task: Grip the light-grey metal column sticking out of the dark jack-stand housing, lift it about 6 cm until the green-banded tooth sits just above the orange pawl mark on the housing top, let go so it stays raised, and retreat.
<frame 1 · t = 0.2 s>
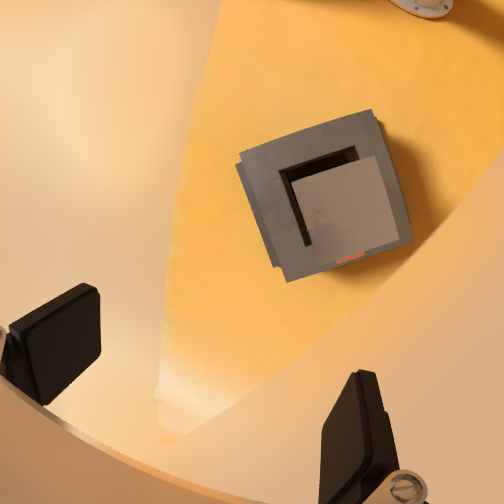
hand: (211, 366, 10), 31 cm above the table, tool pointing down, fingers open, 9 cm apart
housing: (325, 191, 38), on the table
column: (333, 201, 27), point 11 cm above the table, slide at 0.0 cm
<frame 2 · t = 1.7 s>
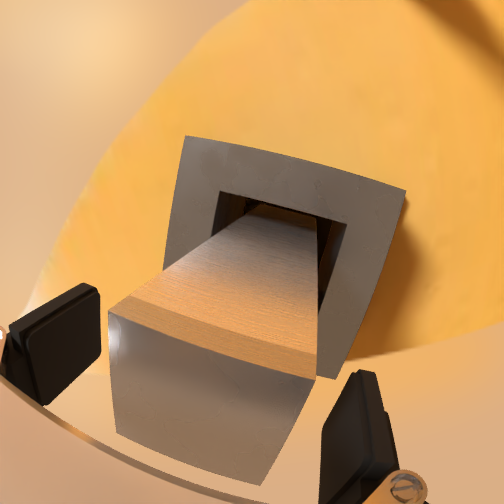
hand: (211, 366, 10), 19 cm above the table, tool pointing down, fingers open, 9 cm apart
housing: (282, 237, 28), on the table
column: (260, 285, 18), point 11 cm above the table, slide at 0.0 cm
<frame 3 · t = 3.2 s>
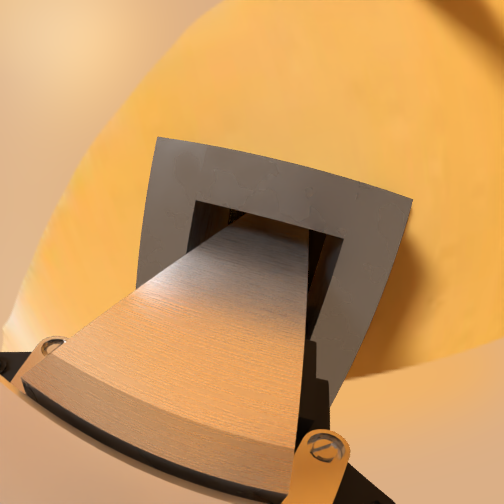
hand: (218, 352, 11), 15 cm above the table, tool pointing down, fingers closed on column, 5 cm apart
housing: (271, 248, 25), on the table
column: (241, 310, 15), point 11 cm above the table, slide at 0.0 cm, touching gripper
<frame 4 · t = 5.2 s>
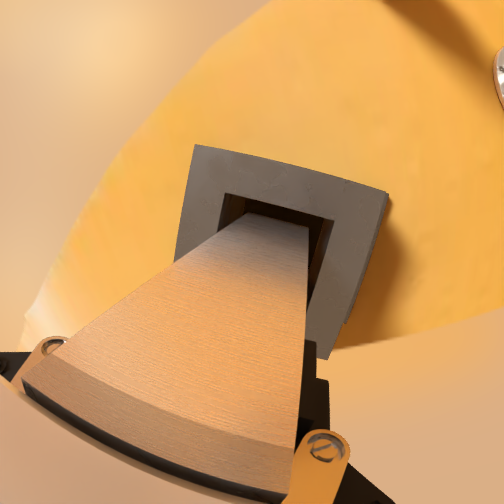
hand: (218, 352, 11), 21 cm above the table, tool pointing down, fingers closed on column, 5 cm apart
housing: (278, 234, 31), on the table
column: (241, 310, 15), point 17 cm above the table, slide at 5.9 cm, touching gripper
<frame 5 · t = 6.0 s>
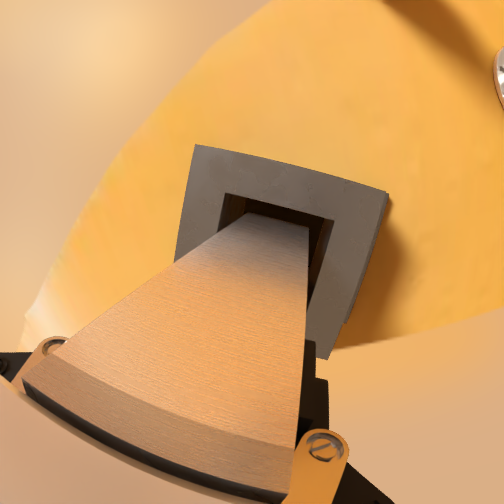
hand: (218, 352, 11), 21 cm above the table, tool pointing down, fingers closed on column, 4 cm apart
housing: (278, 234, 31), on the table
column: (241, 310, 15), point 17 cm above the table, slide at 6.0 cm, touching gripper
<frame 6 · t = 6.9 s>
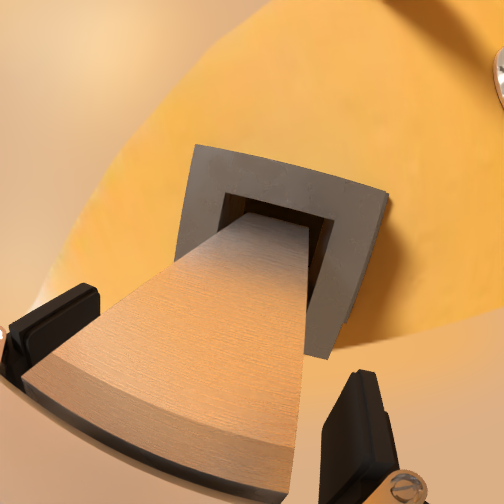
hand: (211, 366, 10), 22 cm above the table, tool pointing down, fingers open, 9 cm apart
housing: (278, 234, 31), on the table
column: (241, 310, 15), point 17 cm above the table, slide at 6.0 cm
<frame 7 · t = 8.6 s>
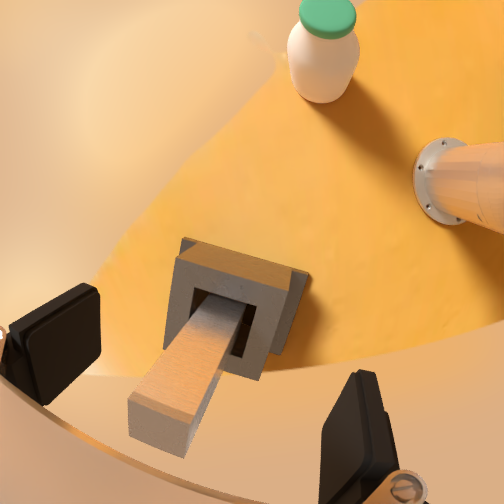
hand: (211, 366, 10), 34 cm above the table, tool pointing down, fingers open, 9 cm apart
housing: (234, 297, 47), on the table
column: (198, 361, 30), point 17 cm above the table, slide at 6.0 cm
milk bottle: (319, 79, 37), on the table
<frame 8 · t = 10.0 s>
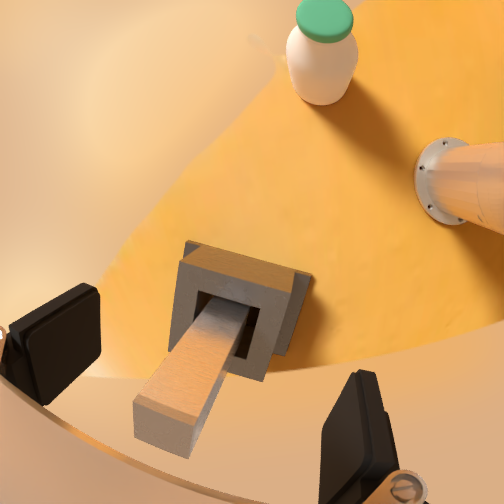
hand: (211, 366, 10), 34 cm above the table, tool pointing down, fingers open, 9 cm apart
housing: (238, 299, 47), on the table
column: (202, 363, 31), point 17 cm above the table, slide at 6.0 cm
milk bottle: (319, 81, 37), on the table
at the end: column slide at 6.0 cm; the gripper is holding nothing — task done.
